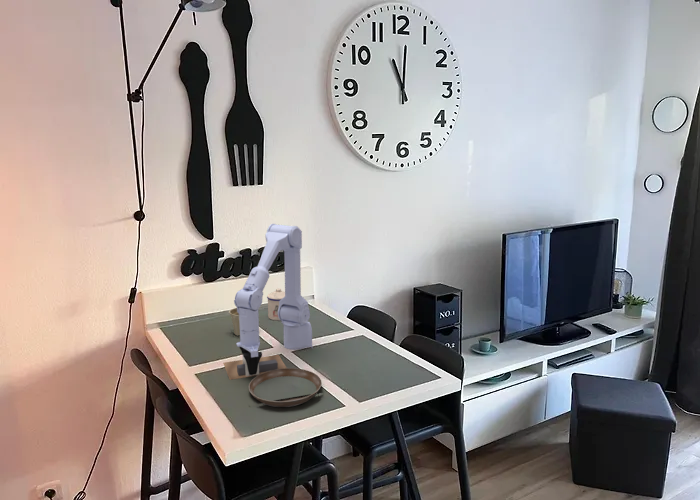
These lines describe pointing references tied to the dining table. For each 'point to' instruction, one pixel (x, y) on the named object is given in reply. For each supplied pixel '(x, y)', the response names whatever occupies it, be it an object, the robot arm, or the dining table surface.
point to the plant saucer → (280, 373)
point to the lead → (263, 367)
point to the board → (232, 366)
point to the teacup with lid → (274, 303)
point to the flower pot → (235, 321)
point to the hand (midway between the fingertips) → (251, 370)
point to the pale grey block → (247, 368)
